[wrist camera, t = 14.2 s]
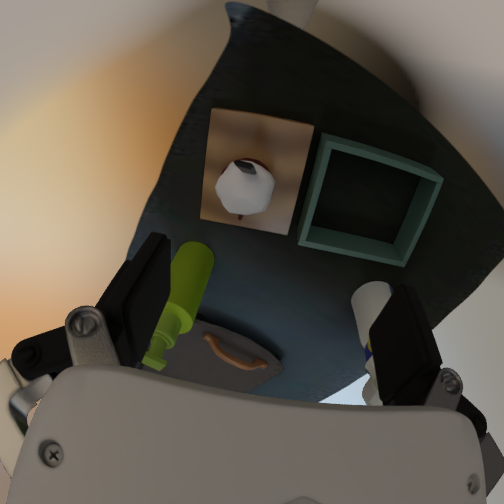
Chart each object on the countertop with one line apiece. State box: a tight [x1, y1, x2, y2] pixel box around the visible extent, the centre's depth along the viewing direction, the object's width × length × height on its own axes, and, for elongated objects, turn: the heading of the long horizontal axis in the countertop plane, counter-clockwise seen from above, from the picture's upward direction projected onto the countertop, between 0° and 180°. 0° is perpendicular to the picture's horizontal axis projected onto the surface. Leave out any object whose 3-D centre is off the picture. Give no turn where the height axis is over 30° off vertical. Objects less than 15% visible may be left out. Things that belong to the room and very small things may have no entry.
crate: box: [297, 133, 444, 267], centre depth 34 cm, size 14×16×4 cm
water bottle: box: [351, 281, 394, 406], centre depth 36 cm, size 8×9×25 cm
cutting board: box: [200, 107, 314, 235], centre depth 35 cm, size 15×12×2 cm
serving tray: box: [140, 314, 284, 393], centre depth 60 cm, size 39×23×6 cm, turn 144°
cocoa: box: [215, 158, 275, 220], centre depth 30 cm, size 10×6×12 cm, turn 147°
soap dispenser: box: [141, 241, 214, 371], centre depth 36 cm, size 6×7×20 cm
